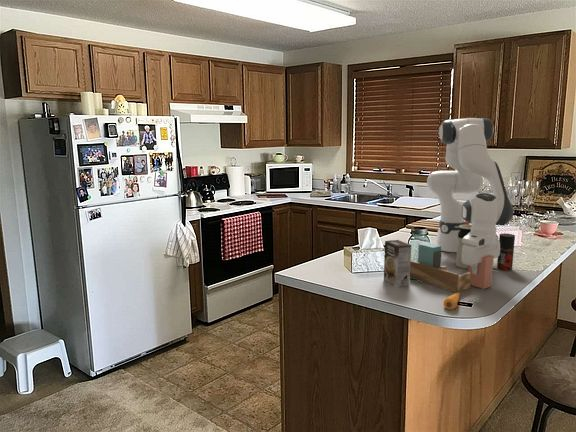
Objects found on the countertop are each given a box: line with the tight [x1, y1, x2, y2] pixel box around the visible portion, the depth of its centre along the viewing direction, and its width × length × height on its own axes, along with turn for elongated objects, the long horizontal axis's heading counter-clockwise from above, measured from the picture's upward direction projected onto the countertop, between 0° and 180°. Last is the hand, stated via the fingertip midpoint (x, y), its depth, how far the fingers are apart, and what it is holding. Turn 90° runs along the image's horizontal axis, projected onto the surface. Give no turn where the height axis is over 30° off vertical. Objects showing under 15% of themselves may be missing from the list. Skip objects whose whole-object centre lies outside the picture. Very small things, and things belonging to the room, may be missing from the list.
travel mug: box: [455, 224, 472, 270], centre depth 202 cm, size 8×8×18 cm
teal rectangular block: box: [417, 242, 442, 268], centre depth 187 cm, size 5×8×12 cm, turn 36°
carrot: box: [443, 291, 461, 311], centre depth 164 cm, size 20×4×4 cm, turn 150°
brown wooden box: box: [409, 260, 471, 294], centre depth 183 cm, size 9×22×7 cm, turn 36°
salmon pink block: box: [466, 255, 495, 290], centre depth 179 cm, size 5×8×12 cm, turn 35°
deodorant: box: [496, 232, 516, 272], centre depth 199 cm, size 6×6×15 cm
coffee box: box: [383, 239, 412, 287], centre depth 183 cm, size 9×6×16 cm
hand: (480, 272), depth 179 cm, fingers closed on salmon pink block, 5 cm apart
